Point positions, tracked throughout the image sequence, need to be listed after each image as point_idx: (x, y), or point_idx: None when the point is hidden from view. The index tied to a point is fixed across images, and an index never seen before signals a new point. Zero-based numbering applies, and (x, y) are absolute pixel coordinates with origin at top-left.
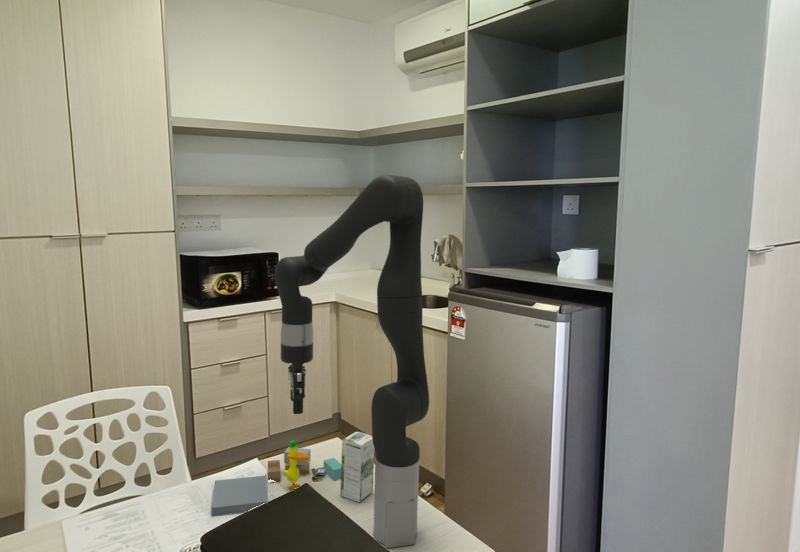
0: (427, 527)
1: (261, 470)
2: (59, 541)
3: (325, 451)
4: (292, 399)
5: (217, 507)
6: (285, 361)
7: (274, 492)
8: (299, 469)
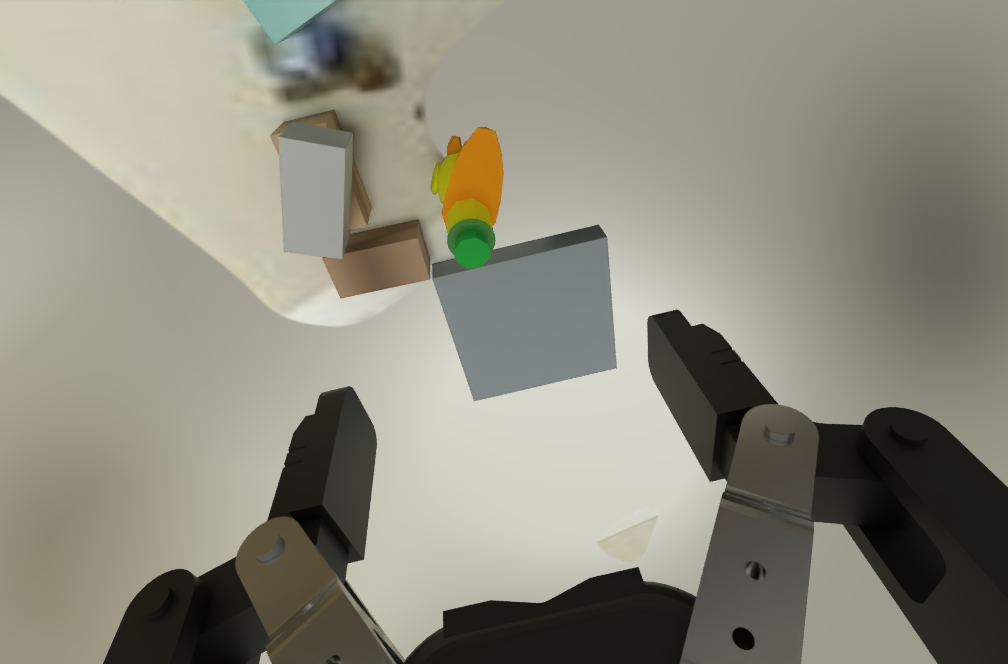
0: None
1: (345, 297)
2: (645, 525)
3: (67, 46)
4: (372, 434)
5: (615, 355)
6: None
7: None
8: None
